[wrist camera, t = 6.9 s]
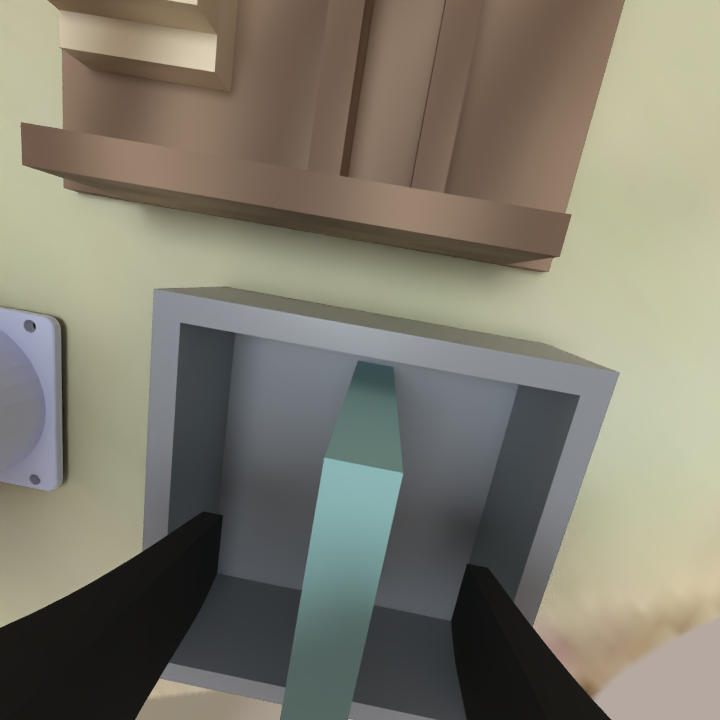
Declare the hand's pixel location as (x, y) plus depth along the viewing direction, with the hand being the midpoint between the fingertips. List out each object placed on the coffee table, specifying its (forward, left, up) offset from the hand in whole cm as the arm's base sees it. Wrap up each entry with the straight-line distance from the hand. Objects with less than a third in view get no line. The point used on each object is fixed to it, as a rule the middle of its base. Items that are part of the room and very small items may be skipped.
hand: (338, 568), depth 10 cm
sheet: (0, 0, -5) cm, 5 cm away
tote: (0, 0, -5) cm, 5 cm away
